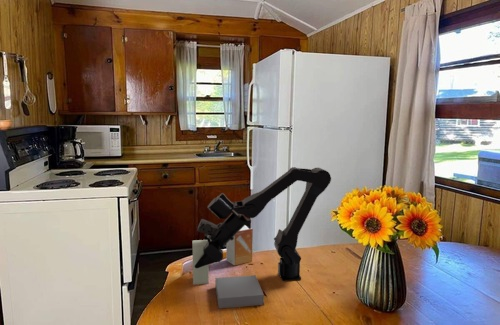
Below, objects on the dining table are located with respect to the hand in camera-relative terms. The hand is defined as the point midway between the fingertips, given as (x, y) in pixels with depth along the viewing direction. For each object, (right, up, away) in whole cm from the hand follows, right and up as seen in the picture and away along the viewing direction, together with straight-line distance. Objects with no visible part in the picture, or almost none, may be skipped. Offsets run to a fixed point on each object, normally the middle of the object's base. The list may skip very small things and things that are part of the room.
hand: (196, 261), depth 115 cm
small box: (+14, -5, +17) cm, 23 cm away
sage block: (+1, -7, +1) cm, 7 cm away
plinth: (+14, -8, -9) cm, 19 cm away
